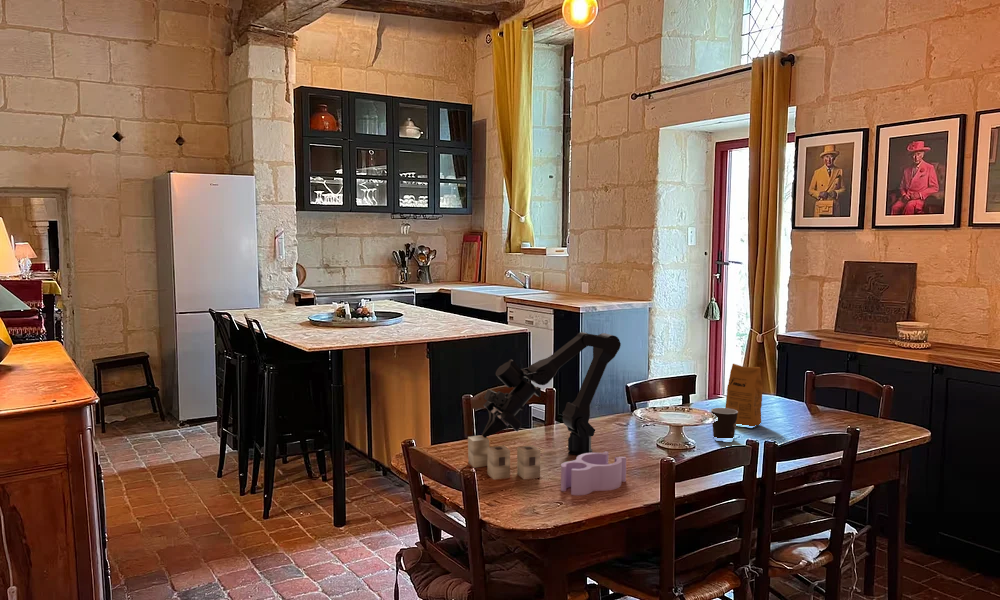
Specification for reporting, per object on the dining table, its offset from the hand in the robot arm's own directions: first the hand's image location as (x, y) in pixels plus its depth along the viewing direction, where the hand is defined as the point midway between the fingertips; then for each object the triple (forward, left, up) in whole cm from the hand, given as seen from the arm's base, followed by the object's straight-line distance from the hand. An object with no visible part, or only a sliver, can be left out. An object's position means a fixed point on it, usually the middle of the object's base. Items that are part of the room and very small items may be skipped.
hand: (483, 436), depth 222 cm
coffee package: (-73, -75, -9) cm, 105 cm away
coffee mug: (-68, -53, -9) cm, 87 cm away
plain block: (+1, +1, -8) cm, 9 cm away
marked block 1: (-8, +9, -9) cm, 15 cm away
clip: (-35, +7, -9) cm, 37 cm away
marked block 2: (-16, +6, -9) cm, 19 cm away
